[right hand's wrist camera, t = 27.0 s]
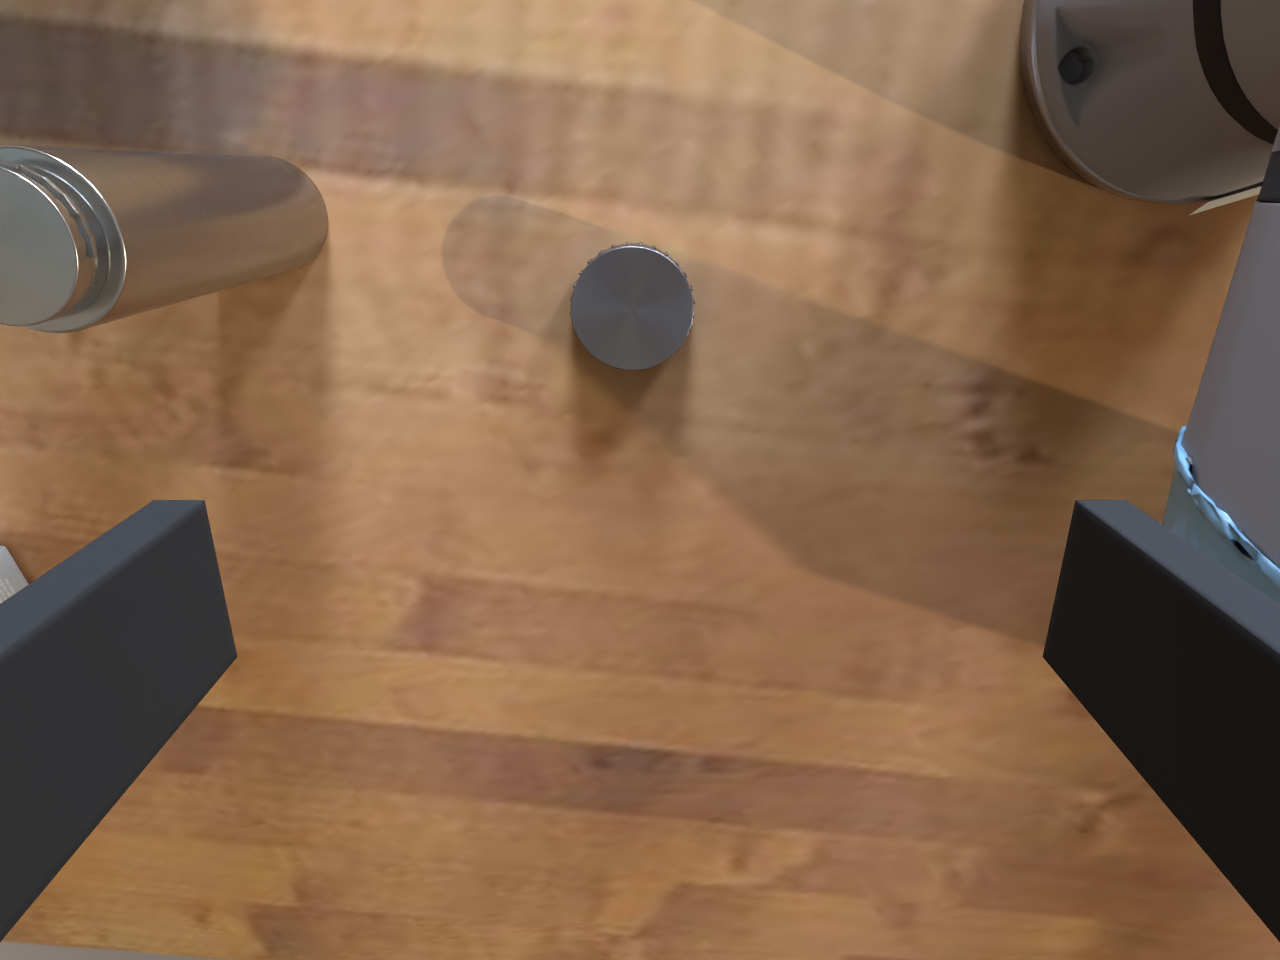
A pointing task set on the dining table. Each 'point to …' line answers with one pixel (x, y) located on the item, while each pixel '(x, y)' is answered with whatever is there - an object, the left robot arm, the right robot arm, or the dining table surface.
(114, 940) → the dining table surface
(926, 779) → the dining table surface
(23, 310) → the grey metal cylinder
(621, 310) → the lid
